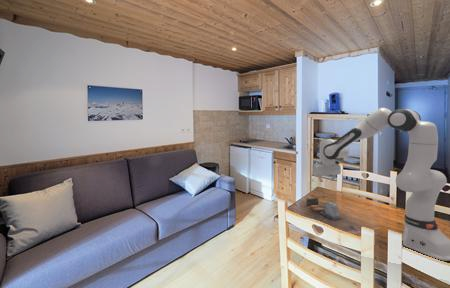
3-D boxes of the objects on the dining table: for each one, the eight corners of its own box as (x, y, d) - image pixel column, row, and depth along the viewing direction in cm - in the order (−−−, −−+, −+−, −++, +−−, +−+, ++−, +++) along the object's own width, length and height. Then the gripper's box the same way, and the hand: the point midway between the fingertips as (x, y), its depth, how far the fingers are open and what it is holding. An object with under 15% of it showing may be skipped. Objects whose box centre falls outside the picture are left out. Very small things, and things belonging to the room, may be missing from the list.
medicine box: (338, 218, 143) (338, 205, 143) (332, 219, 142) (332, 205, 142) (330, 213, 151) (330, 201, 150) (324, 214, 150) (324, 202, 149)
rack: (327, 211, 155) (327, 202, 155) (316, 212, 153) (316, 204, 153) (317, 205, 167) (317, 197, 167) (306, 207, 165) (306, 198, 165)
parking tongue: (341, 219, 141) (341, 217, 141) (331, 220, 140) (331, 218, 140) (328, 212, 153) (328, 210, 153) (319, 213, 152) (319, 211, 151)
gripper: (316, 163, 149) (316, 183, 149) (342, 161, 153) (342, 181, 153) (310, 162, 155) (311, 181, 155) (335, 160, 159) (336, 179, 160)
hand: (326, 181), depth 154 cm, fingers open, 8 cm apart
